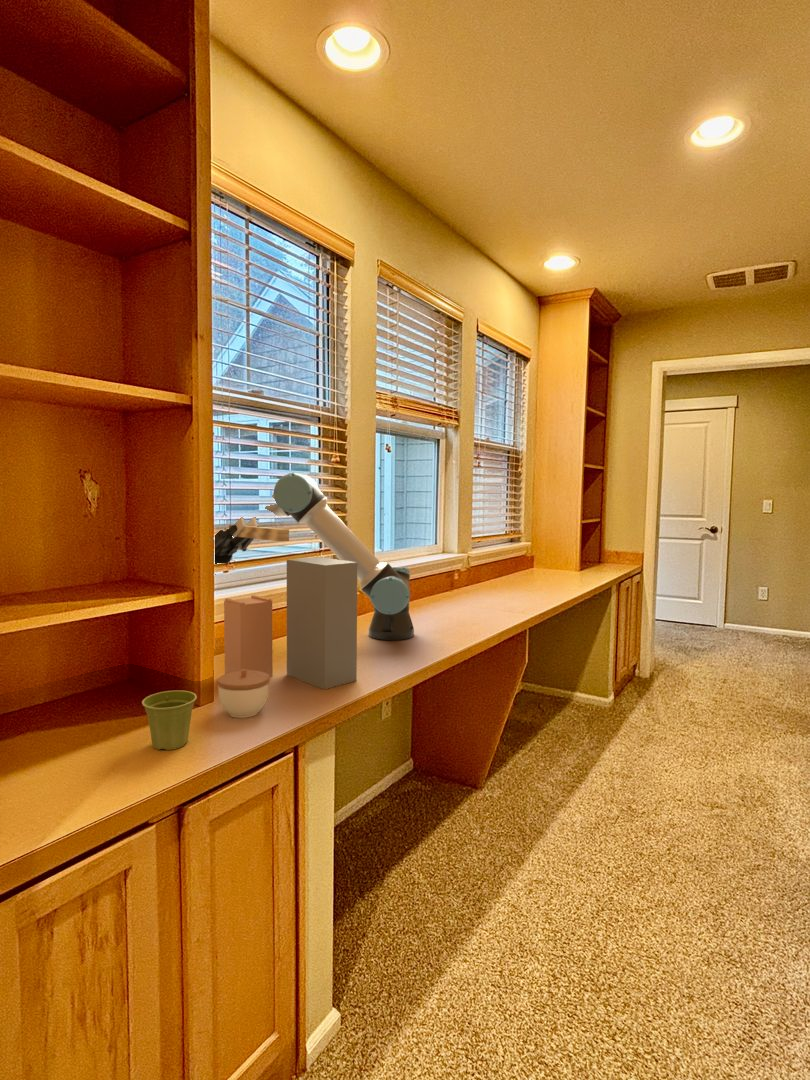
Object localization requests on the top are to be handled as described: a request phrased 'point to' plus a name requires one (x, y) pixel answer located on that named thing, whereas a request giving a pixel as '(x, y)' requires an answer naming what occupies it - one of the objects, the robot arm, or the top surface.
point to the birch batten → (264, 533)
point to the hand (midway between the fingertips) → (249, 521)
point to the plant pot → (169, 718)
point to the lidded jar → (243, 692)
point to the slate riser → (322, 621)
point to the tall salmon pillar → (248, 634)
